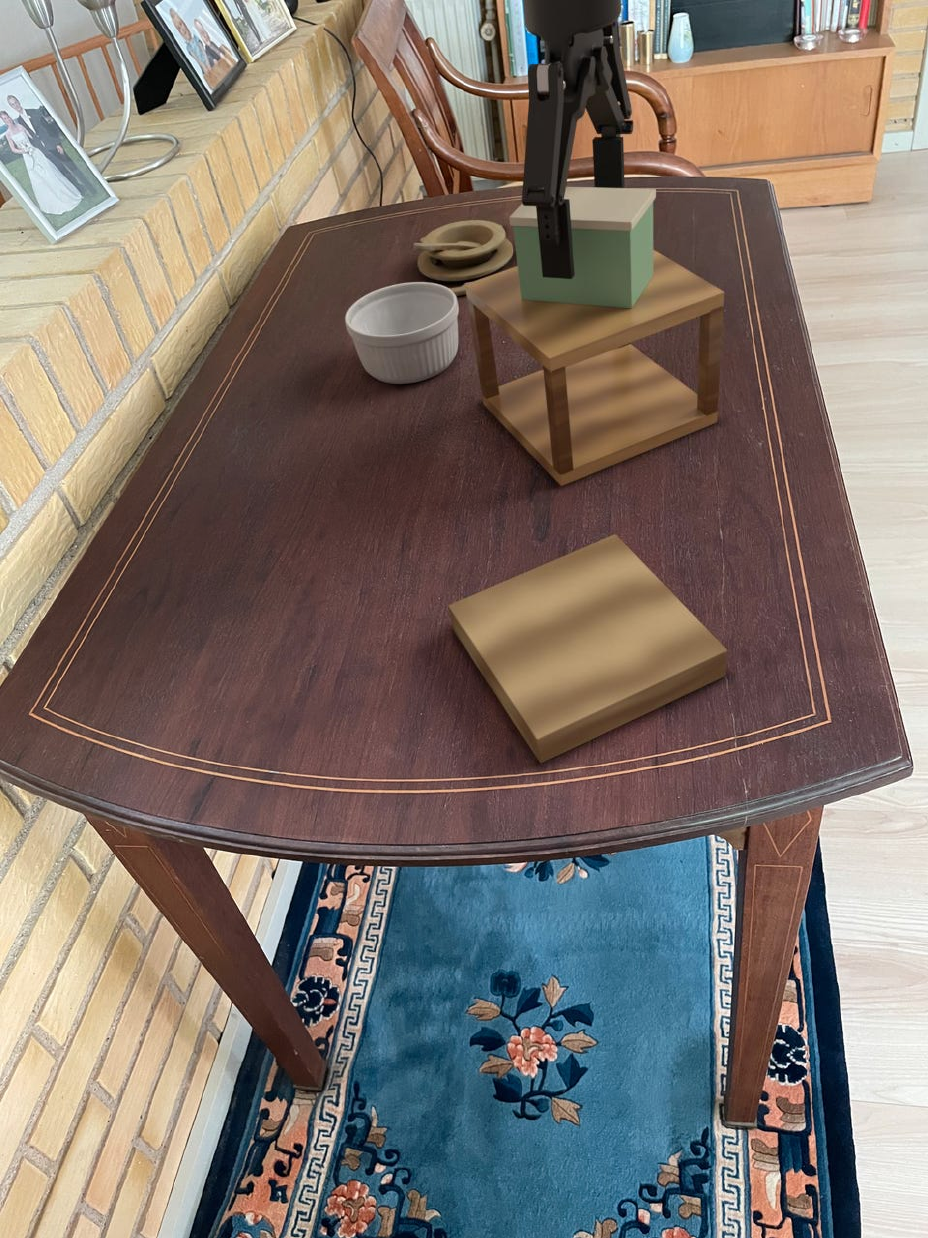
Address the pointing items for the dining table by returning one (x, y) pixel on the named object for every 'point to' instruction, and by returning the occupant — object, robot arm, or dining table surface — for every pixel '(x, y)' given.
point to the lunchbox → (592, 248)
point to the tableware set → (463, 251)
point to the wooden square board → (585, 645)
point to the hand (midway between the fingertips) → (585, 242)
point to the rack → (597, 370)
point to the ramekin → (405, 331)
